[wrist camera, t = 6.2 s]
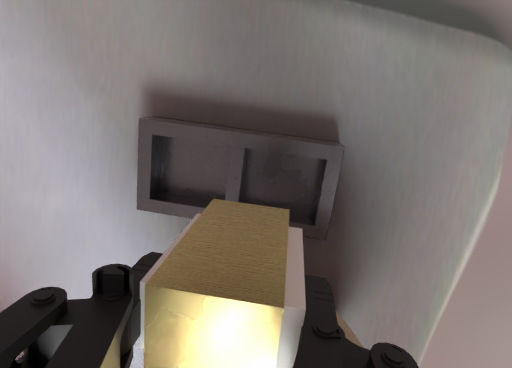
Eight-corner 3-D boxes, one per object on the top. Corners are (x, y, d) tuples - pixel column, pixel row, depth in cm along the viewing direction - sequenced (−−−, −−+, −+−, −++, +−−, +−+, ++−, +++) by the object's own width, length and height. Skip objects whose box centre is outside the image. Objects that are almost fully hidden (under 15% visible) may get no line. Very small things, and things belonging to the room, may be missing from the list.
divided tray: (323, 227, 32) (325, 240, 29) (150, 199, 33) (136, 209, 30) (339, 142, 30) (344, 147, 27) (153, 116, 31) (139, 118, 28)
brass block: (279, 277, 18) (266, 417, 10) (208, 266, 18) (143, 393, 10) (289, 209, 17) (283, 308, 9) (213, 198, 17) (144, 285, 9)
